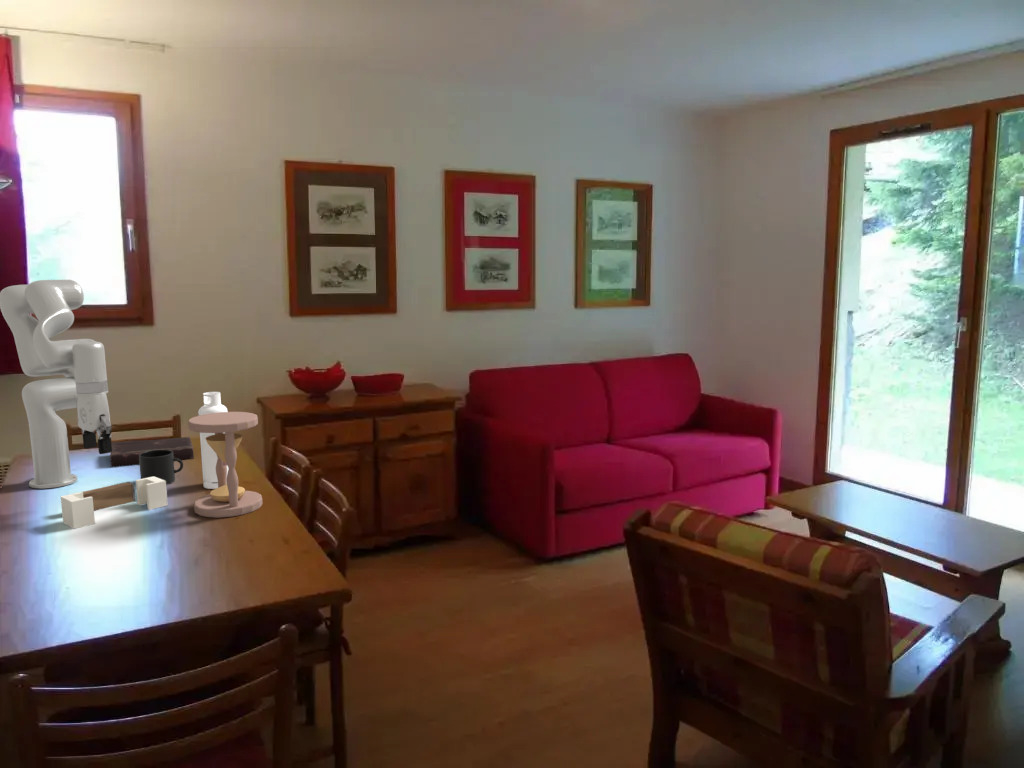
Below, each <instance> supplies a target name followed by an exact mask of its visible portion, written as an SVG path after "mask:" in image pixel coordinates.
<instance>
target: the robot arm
mask: <svg viewBox="0 0 1024 768" xmlns="http://www.w3.org/2000/svg"><path fill="white" fill-rule="evenodd" d="M84 298H85V294H84V291H83V289H82V287H81V285H80V284H79V283H78V282H76V281H75V280H72V279H41V280H40V279H39V280H35V281H32V282H31V283H28V284H17V285H16V284H15V285H10V286H7V287H4V288H3V289H2V290H0V312H1V313H2V316H3V319H4V320H5V322H6V323H7V326H8V327H9V328H10V331H11V333H12V335H13V338H14V343H15V346H16V351H17V355H18V359H19V364H20V367H21V370H22V372H23V373H24V374H25V375H26V376H28V377H48V376H56V375H63V376H64V377H60V378H49V379H39V380H35V381H32V382H31V381H30V382H29V383H27V384H25V385H24V387H22V390H21V397H22V398H21V399H22V402H23V406H24V409H25V411H26V416H27V421H28V430H29V436H30V446H31V447H30V448H31V457H32V466H33V474H34V475H33V477H34V478H33V479H31V480H30V481H29V482H28V486H29V488H31V489H41V490H42V489H53V488H54V489H55V488H60V487H65V486H69V485H72V484H74V483H76V482H77V481H78V476H77V474H73V473H72V471H71V461H70V460H71V458H70V450H69V440H68V439H69V438H68V430H67V424H66V422H65V420H64V419H63V418H61V417H60V416H59V415H58V414H57V413H56V412H58V411H61V410H69V409H76V408H77V409H76V410H77V425H78V427H79V428H80V429H81V433H82V443H83V445H82V446H83V449H92V448H96V447H97V449H98V454H99V455H105V454H108V453H110V454H111V452H112V444H111V443H112V431H113V430H112V422H111V413H110V407H109V401H108V397H107V394H108V393H109V386H108V374H107V373H108V372H107V366H106V365H107V363H106V351H105V346H104V344H103V343H102V342H100V341H96V340H94V339H91V338H78V339H76V338H75V339H62V340H60V339H59V340H50V339H51V338H54V337H55V336H57V335H59V334H61V333H63V332H65V331H67V330H68V329H70V328H71V326H72V325H73V324H74V321H75V315H74V313H73V310H78V309H79V308H80V307H82V305H83V304H84V300H85V299H84ZM30 314H31V315H30ZM32 314H34V315H35V317H36V318H35V317H34V316H32ZM97 437H98V439H97Z"/></svg>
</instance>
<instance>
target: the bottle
mask: <svg viewBox="0 0 1024 768" xmlns="http://www.w3.org/2000/svg"><path fill="white" fill-rule="evenodd" d="M202 395H203V396H202V397H203V405H202V406H200V408H199V409H198V411H197V412H198V416H199V415H204V414H210V413H219V412H229V411H228V408H227V406H225V405H224V404H222V400H221V399H222V398H221V397H222V396H221V392H220V391H208V392H203V393H202ZM211 435H215V433H200V432H199V440H200V455H201V468H202V469H201V470H202V479H203V481H202V485H203V488H204V489H208V490H210V489H212V490H215V489H217V488H218V479H217V475H216V463H217V459H218V457H217V454H216V453H215V452H214V450H213V449H212V448H211V447H210V446H209V444H208V443H207V441H206V437H208V436H211ZM228 469H229V468H228V465H227V474H228ZM226 479H227V477H226ZM226 481H227V480H226Z"/></svg>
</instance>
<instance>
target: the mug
mask: <svg viewBox="0 0 1024 768" xmlns="http://www.w3.org/2000/svg"><path fill="white" fill-rule="evenodd" d="M175 462H178V463H179V464H180V466H179V468H177V469H175ZM139 463H140V464H139V473H140V479H144V478H148V477H153V476H154V477H157V478H160V479H162V480H165V481H166V486H167V485H170V484H172V483H174V482H175V481H176V474H177V473H179V472H181V471H182V470H183V468H184V463H183V460H180V459H178V458H174V457H173V451H171V450H153V451H147V452H143V453H141V454H139Z"/></svg>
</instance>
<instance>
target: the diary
mask: <svg viewBox="0 0 1024 768" xmlns="http://www.w3.org/2000/svg"><path fill="white" fill-rule="evenodd" d="M111 444H112V452H110V466H111V467H110V468H118V467H126V466H127V467H128V466H135V465H140V463H139V454H141V453H143V452H147V451H153V450H171V451H173V457H174V458H178V459H180V460H181V461H184V460H194V458H195V454H194V446H193V443H192V439H191V437H190V436H183V437H182V436H181V437H175V438H174V437H173V438H162V439H149V440H128V441H117V442H116V441H115V442H111Z"/></svg>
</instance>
